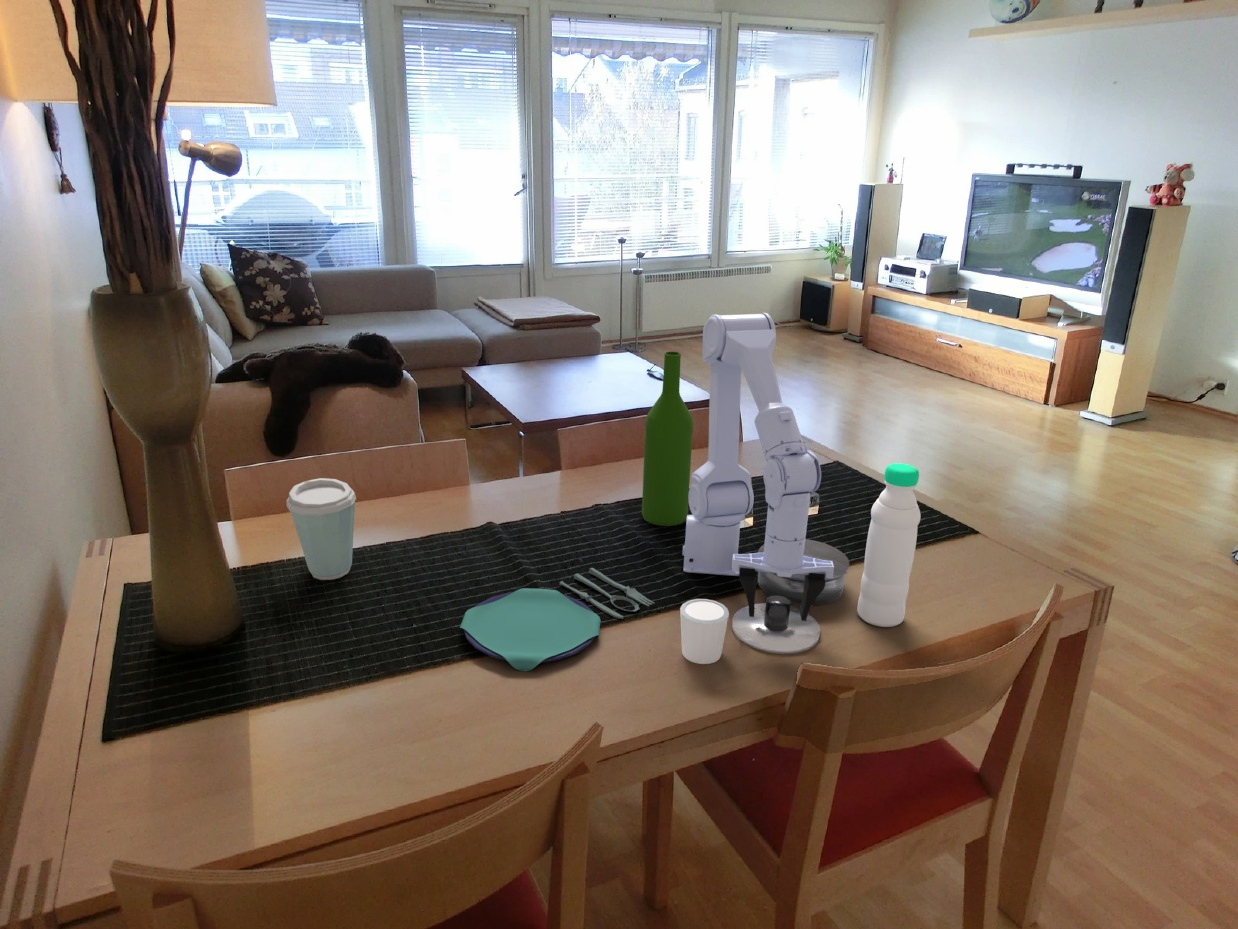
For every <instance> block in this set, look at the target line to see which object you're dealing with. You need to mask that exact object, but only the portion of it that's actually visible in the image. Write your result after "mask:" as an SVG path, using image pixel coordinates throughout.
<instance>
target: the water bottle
mask: <svg viewBox="0 0 1238 929" xmlns="http://www.w3.org/2000/svg"><path fill="white" fill-rule="evenodd" d="M883 477H884V479H883V480H884V484H885V486H886V487H885V488H884V489H883V490H882V491H881V493H880V495H878V496H879V497H878V498H877V499H876V501H875V502H873V504H872V507H871V509H870V515H871V516H870V517H871V520H870V523H869V528H868V533H867V539H866V545H865V546H866V547H865V553H864V562H863V563H864V566H863V569H864V570H863V573H862V576H861V580H860V594H859V597H858V601H857V609H856V611H857V614H858V616H859V617H860V619H862V620H863V621H864V622H865V623H867V624H870V625H872V626H876V627H881V628H891V627H895V626H898V625H901V623H902V622H904V618H905V613H906V605H907V604H906V603H907V602H906V600H907V597H908V595H909V589H910V577H911V572H912V568H913V565H914V564H913V563H914V558H915V553H916V548H917V547H916V546H917V538H918V537H917V536H918V526H919V524H920V522H921V517H922V516H921V510H920V508H919V505H918V502H917V498H916V495H915V493H914V489H915V488H917V484H918V482H919V479H920V472H919V470H918V468H916V467H915V466H913V465H911V464H907V463H898V462H897V463H896V462H895V463H890V464H888V465H887V466H886V467H885V471H884V475H883Z"/></svg>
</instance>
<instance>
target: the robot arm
mask: <svg viewBox="0 0 1238 929" xmlns="http://www.w3.org/2000/svg"><path fill="white" fill-rule="evenodd" d="M776 330H777V329H776V324H775V322H774V320H773V319H772V317H771V315H770V314H769V313H767V312H761V313H749V314H748V313H747V314H721V315H720V314H715V313H714V314H711V315H710V317H709V318H708V319H707V321H706V322H705V324H704V326H703V328H702V362H703V364H706V365H708V366H709V401H708V402H709V405H708V406H709V408H708V409H709V410H708V411H709V412H708V414H709V415H708V447H707V448H708V451H707V452H708V453H707V454H708V456H707V458H708V459H707V461H706V462H705V463H704V464H702V466H700V467H698V468H697V469H696V470H695V471H693V472H692V474H691V478H690V486H689V494H688V508H689V510H690V512H691V514H688V515H687V519H686V520H685V523H686V525H685V539H684V540H685V541H684V545H682V556H684V557H683V568H682V569H683V572H685V573H694V574H707V575H719V576H731V577H732V576H733V577H739V582H740V583H741V587H742V588H743V591H744V595H745V597H746V601H747V606H749V616H750V617H754V604H755V597H756V589H757V584H758V581H757V572H759V571H763V572H772V573H777V576H780V577H791V576H792V574H804V575H805V577H804V591H803V597H802V603H801V605H800V608H799V610H800V616H801V621H806V619H807V616H808V614H809V613H810V610H811V609H812V607H813V606H812V604H813V603H814V601H815V599H816V598H817V597H818V595H819V594H820V593H821V592H822V591H823V589H824V587H825V578H830V579H832V578H833V571H834V565H833V562H832V561H827V560H821V559H816V558H811V557H807V556H803V555H804V546H805V539H806V536H807V529H808V527H807V526H808V521H809V520H808V518H809V511H810V510H809V509H810V501H811V493H812V492H813V493H814V492H816V491H817V490H818V489H819V488H820V484H821V482H822V469H821V465H820V460H819V457H818V456H817V455H816V454H815V452H813V451H812V450H811V449H810V446H809V445H808V444H804V440H803V438H802V435H801V432H800V429H799V426H798V422H797V419H796V416H795V414H794V411H793V409H792V407H789V406H788V405H786V404H783V401H782V396H781V391H780V388H779V383H778V377H777V374H776V370H775V366H774V364H775V363H774V360H773V357H772V355H773V353H774V350H775V348H776V342H777V334H776V333H777V331H776ZM742 374H743V376H744V378H745V381H746V383H747V385H748V388H749V390H750V393H751V395H752V398H753V400H754V402H755V405H756V407H757V409H758V413H757V415H756V416H755V419H754V425H755V426H754V427H755V428H756V432H757V435H758V438H759V441H760V444H761V448H762V451H763V454H764V457H765V458H764V459H765V461H766V462H765V465H764V467H763V471H762V478H763V482H764V486H765V491H764V492H765V494H764V498H765V502H766V503H767V504H768V505H767V512H766V515H767V516H766V525H765V535H764V536H765V537H764V544H763V545H764V552H762V553H758V552H754V553H739V546H740V545H739V544H740V541H739V540H740V531H741V530H740V529H741V521H745V519H746V518H745V516H746V515H748V514H750V513H751V510H752V508H753V507H754V506H753V505H754V499H755V497H754V495H755V494H754V490H753V486H752V485H753V484H752V475H751V473H750V471H748V469H746V468H745V467H744V466H742V465H740V463H739V452H740V450H739V449H740V448H739V446H740V445H739V444H740V416H741V415H740V414H741V389H742V388H741V386H742V385H741V383H742V380H741V378H742Z"/></svg>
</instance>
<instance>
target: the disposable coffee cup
mask: <svg viewBox="0 0 1238 929" xmlns="http://www.w3.org/2000/svg"><path fill="white" fill-rule="evenodd" d="M285 500H286V507H287V509H288V511H289V512H290V514H291V517H292V518H291V519H292V521H293V524H294V527H295V530H296V533H297V538H298V540H299V543H300V545H301V549H302V553H303V556H304V559H305V562H306V565H307V568H308V571H309V572H310V574H311V575H312V578H314V579H318V580H320V581H327V580H329V581H331V580H336V579H340V578H342V577H344V576H345V575H347V574H349V572H350V570H351V567H352V565H353V549H354V548H353V547H354V531H355V530H354V529H355V528H354V527H355V526H354V525H355V510H356V508H355V507H356V500H357V497H356V492H355V491H354V490H353V488H351V487H350V485H349V484H348V483H347V482H344V481H341V480H338V479H336V478H324V477H322V478H321V477H320V478H315V479H310V480H305V481H302V482H300V483H298V484H295V485H294V486H293V487H292V488H291V490H290V491H289V492H288V497H287V499H285Z"/></svg>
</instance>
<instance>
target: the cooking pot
mask: <svg viewBox="0 0 1238 929" xmlns="http://www.w3.org/2000/svg"><path fill="white" fill-rule="evenodd" d="M762 552H764V544H763V545H761V546H760V547H759V548H758V551H757V553H762ZM803 556H807V557H811V558H816V559H821V560H827V561H832V562H833V565H834V571H833V578H832V579H830V578H825V587H824V589H823V591H822V592H821V593H820V594H819V595H818V597H817V598H816V599H815V601H814V603H813V604H812V606H811V607H814V606H815V607H817V606H825V605H828V604H831V603H834V602H836V601H838V600H839V599H840V598H841V597H842V595H843V593H844V587H845V580H846V574H847V573H848V572H849V568H850V560H849V558H848V557H847V555H846V554H845V553H844V552H842V551H841V550H840V549H838V548H836V547H835V546H833V545H831V544H830V545H829V544H827V543H825V542H822V541H817V540H812V539H808V538H805V546H804V555H803ZM757 574H758V575H757V584H758V583H759V584H758V586H759V588H760V589H761V590H762V591H763V592H764V593H765V594H767V596H769V597H770V596H783V597H785V598H787V599H789V600H790V602H791V605H796V606H801V603H802V597H803V591H804V577H805V575H804V574H792V576H791V577H780V576H777V573H772V572H763V571H757Z"/></svg>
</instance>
